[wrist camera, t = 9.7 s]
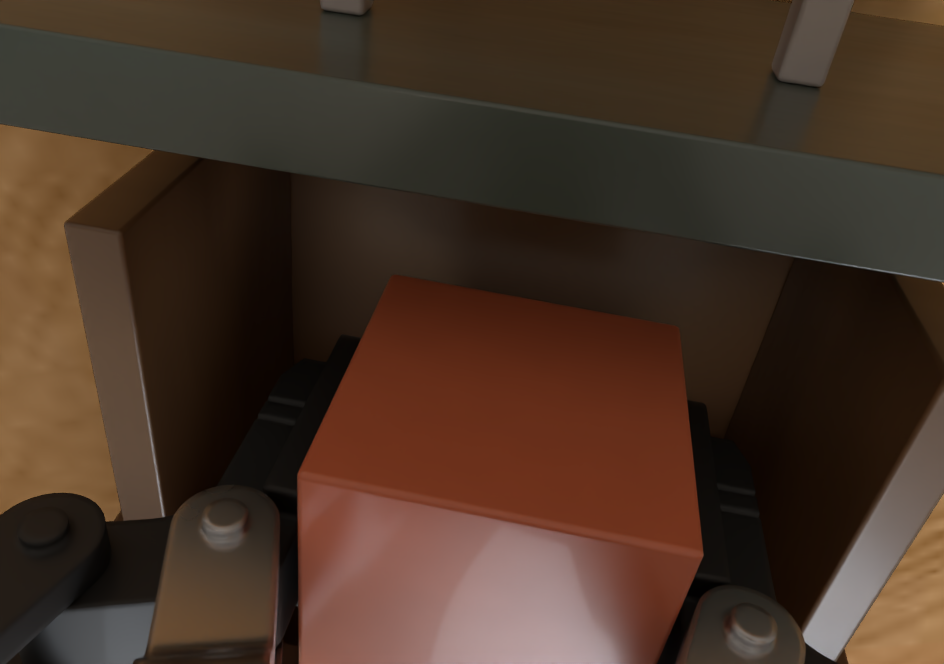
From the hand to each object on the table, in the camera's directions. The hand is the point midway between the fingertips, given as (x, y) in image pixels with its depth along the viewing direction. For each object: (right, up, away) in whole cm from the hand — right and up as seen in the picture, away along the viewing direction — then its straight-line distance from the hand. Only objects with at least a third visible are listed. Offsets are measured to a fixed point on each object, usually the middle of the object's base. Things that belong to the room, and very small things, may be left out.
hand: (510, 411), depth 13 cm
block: (0, 0, 0) cm, 0 cm away
